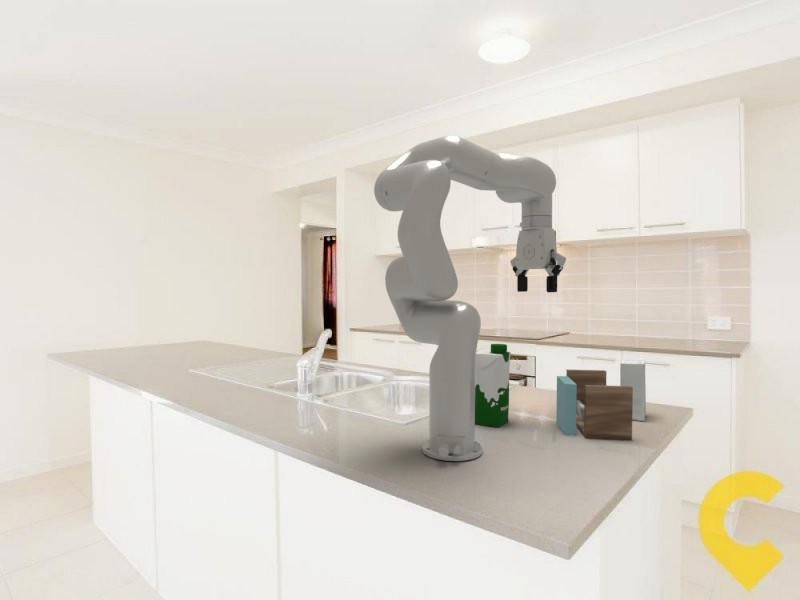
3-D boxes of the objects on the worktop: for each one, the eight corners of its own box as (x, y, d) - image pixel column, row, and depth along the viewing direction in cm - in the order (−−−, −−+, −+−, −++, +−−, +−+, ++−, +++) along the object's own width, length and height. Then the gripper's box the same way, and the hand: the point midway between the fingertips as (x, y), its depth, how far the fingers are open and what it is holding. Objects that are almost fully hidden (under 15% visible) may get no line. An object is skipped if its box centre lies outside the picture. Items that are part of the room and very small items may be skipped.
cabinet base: (631, 440, 108) (632, 387, 108) (585, 438, 109) (586, 386, 109) (604, 414, 130) (604, 370, 129) (565, 413, 131) (566, 369, 131)
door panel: (575, 435, 112) (576, 384, 111) (564, 435, 112) (564, 384, 112) (567, 423, 121) (567, 376, 121) (556, 422, 122) (556, 376, 121)
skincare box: (644, 422, 123) (645, 364, 122) (619, 418, 126) (620, 362, 125) (645, 414, 130) (646, 359, 130) (621, 411, 133) (622, 358, 132)
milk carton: (501, 429, 116) (502, 347, 115) (466, 423, 121) (467, 344, 120) (512, 420, 124) (513, 343, 123) (479, 415, 128) (480, 341, 128)
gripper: (501, 227, 127) (501, 291, 128) (554, 220, 112) (553, 292, 113) (521, 228, 131) (521, 291, 132) (574, 221, 116) (574, 292, 117)
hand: (536, 291), depth 122 cm, fingers open, 9 cm apart
